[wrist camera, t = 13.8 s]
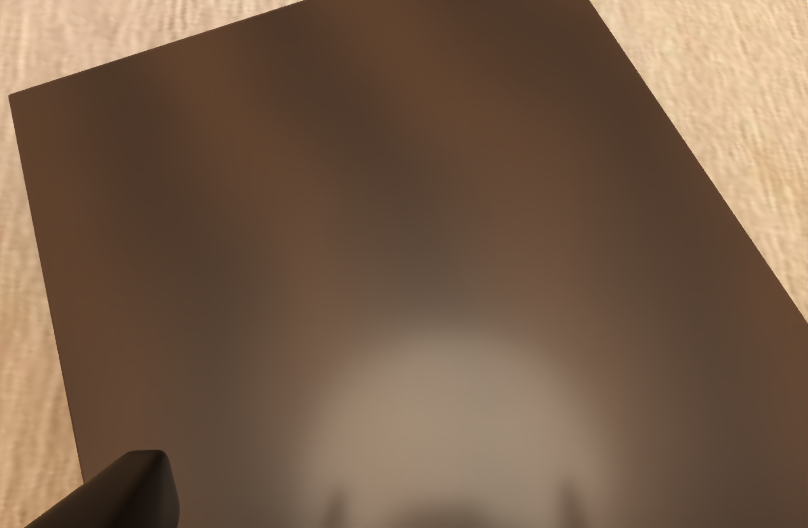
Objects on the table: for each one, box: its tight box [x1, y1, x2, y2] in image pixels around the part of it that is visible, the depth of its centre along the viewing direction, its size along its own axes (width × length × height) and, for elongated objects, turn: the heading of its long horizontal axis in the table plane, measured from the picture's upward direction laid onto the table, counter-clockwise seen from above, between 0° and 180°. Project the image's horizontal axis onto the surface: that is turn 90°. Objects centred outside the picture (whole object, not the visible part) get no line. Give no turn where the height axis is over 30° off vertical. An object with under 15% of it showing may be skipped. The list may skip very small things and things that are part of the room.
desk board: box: [8, 0, 808, 528], centre depth 18 cm, size 20×25×2 cm
